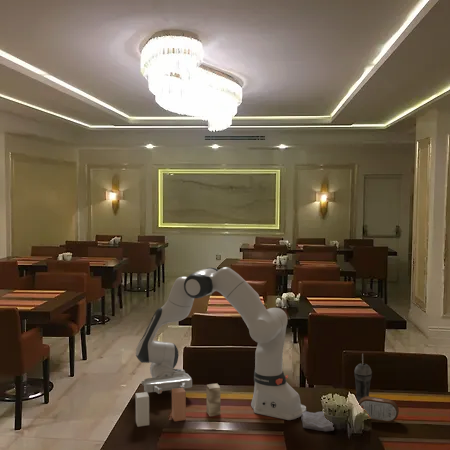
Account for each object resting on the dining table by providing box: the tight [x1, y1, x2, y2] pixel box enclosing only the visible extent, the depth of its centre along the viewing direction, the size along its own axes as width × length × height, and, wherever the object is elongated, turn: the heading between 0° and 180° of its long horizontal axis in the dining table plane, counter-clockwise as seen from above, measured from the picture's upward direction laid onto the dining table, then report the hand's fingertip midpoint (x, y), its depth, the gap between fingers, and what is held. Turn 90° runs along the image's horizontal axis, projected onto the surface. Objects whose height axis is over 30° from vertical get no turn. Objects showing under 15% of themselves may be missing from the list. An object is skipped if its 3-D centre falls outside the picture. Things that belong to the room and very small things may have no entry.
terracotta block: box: [171, 388, 187, 422], centre depth 198 cm, size 4×4×11 cm
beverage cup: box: [353, 353, 373, 402], centre depth 215 cm, size 7×7×20 cm
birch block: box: [206, 382, 221, 417], centre depth 203 cm, size 4×4×11 cm
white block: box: [135, 391, 150, 428], centre depth 194 cm, size 4×4×11 cm
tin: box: [357, 395, 400, 423], centre depth 198 cm, size 15×3×8 cm, turn 71°
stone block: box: [300, 410, 335, 432], centre depth 193 cm, size 12×5×10 cm
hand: (171, 390), depth 210 cm, fingers open, 8 cm apart
